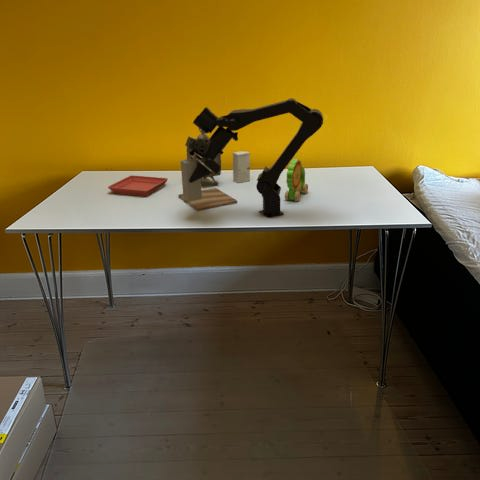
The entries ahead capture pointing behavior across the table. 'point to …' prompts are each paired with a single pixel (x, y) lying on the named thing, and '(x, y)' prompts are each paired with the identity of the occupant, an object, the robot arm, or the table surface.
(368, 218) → the table surface
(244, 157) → the skincare box
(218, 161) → the tabletop clock
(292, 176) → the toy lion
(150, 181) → the plant saucer
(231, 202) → the walnut board
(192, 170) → the tall taupe box
